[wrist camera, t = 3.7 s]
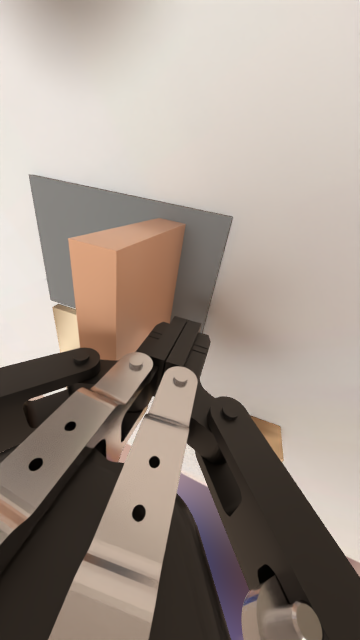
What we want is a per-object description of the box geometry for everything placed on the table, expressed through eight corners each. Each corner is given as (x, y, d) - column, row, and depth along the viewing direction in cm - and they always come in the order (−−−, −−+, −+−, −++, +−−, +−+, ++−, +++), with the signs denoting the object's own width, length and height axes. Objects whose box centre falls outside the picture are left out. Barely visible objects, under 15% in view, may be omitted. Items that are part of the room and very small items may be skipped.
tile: (185, 223, 15) (116, 250, 8) (168, 328, 20) (115, 408, 13) (157, 217, 16) (64, 237, 8) (147, 322, 20) (83, 395, 13)
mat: (232, 216, 15) (232, 217, 14) (199, 345, 20) (198, 347, 20) (33, 174, 17) (28, 174, 17) (53, 298, 23) (50, 300, 23)
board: (135, 328, 22) (131, 333, 21) (130, 414, 29) (127, 419, 28) (58, 303, 23) (52, 307, 23) (72, 391, 31) (67, 395, 30)
